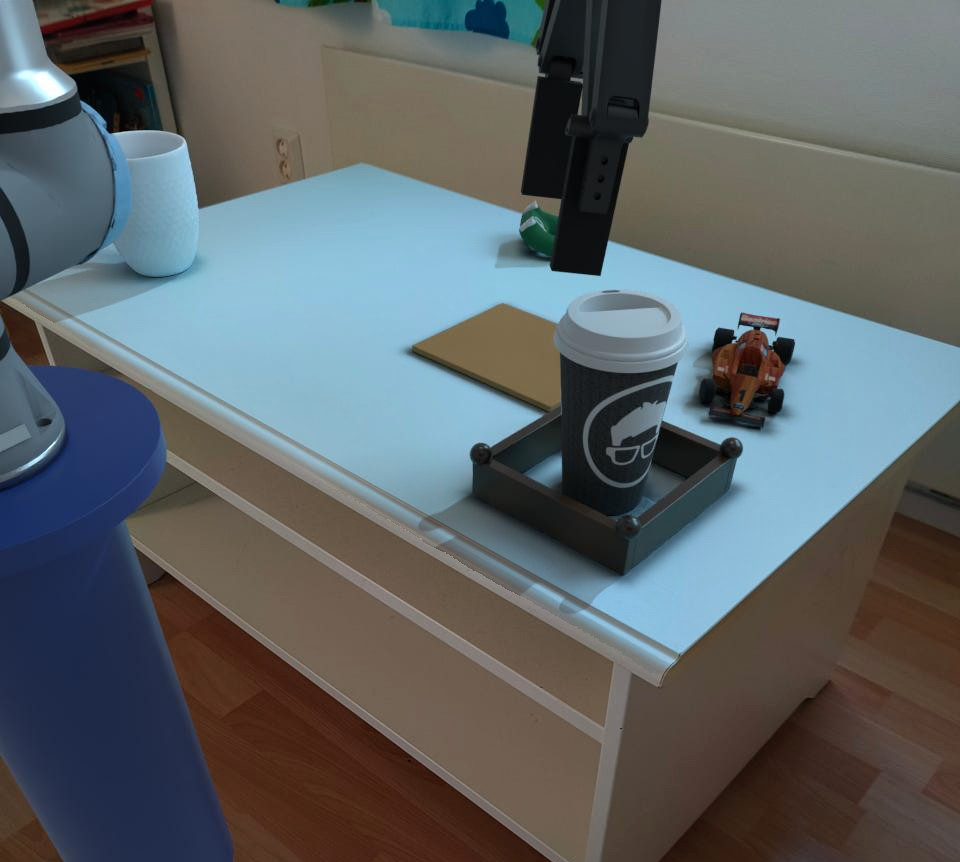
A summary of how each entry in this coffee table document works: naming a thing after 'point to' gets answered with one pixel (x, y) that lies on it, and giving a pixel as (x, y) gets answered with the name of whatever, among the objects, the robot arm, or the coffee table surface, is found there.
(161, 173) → the mug
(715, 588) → the coffee table surface
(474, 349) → the cork mat
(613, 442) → the coffee cup
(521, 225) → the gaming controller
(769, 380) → the toy car
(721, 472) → the dark square frame
